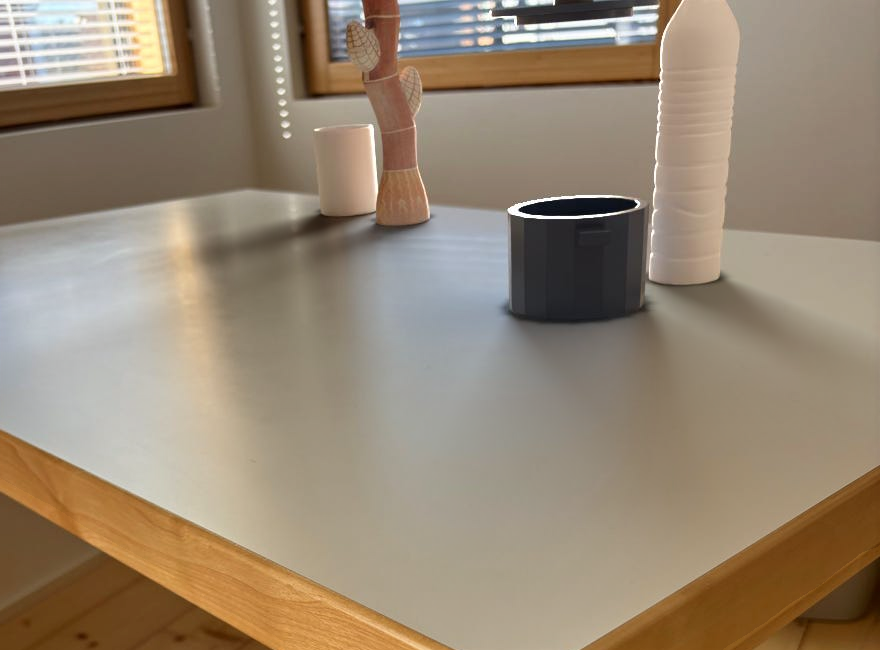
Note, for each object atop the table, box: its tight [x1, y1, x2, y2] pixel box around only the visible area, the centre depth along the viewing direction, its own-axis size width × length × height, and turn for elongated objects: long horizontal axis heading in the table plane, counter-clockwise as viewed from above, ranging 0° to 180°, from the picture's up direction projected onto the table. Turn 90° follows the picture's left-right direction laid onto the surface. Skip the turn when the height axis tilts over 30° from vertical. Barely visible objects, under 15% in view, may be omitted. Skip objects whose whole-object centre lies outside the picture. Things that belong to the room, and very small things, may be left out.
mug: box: [312, 124, 379, 217], centre depth 148 cm, size 12×8×11 cm
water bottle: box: [648, 0, 741, 286], centre depth 92 cm, size 9×6×25 cm
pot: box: [507, 195, 650, 323], centre depth 89 cm, size 12×17×8 cm
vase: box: [345, 0, 431, 227], centre depth 131 cm, size 10×7×30 cm
